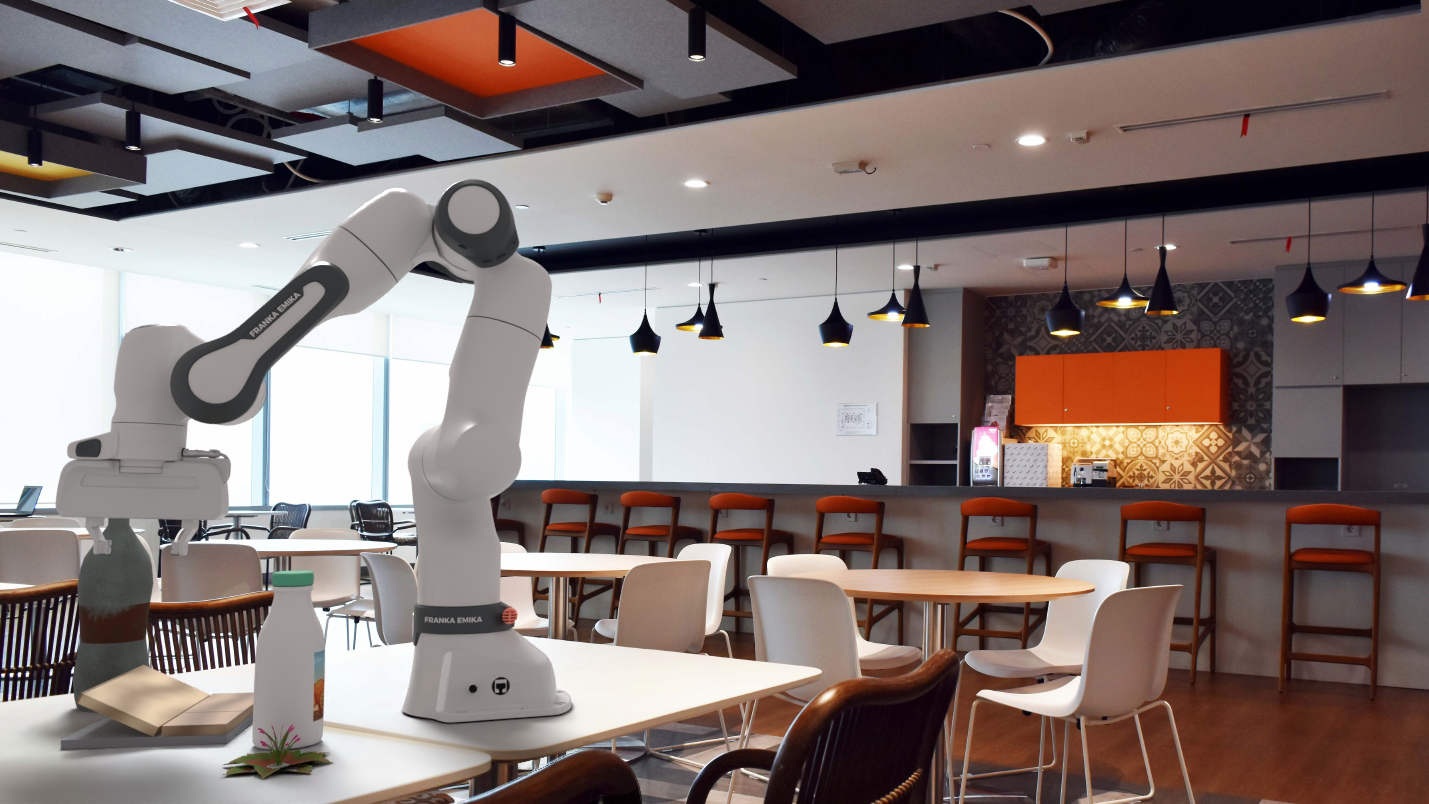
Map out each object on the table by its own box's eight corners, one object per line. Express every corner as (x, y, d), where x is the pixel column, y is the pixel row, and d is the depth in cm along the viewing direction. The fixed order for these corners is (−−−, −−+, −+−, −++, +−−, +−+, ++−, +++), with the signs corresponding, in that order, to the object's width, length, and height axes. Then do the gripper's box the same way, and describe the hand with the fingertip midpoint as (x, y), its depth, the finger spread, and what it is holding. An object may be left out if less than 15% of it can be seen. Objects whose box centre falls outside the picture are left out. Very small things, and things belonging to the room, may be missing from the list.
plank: (205, 702, 143) (210, 694, 143) (153, 736, 124) (158, 727, 124) (139, 672, 142) (143, 664, 142) (75, 702, 123) (80, 692, 123)
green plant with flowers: (346, 754, 122) (348, 713, 122) (322, 782, 110) (324, 737, 110) (236, 757, 120) (238, 715, 121) (199, 786, 108) (202, 740, 109)
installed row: (268, 701, 144) (268, 691, 144) (226, 734, 125) (226, 723, 125) (213, 702, 143) (213, 693, 143) (161, 736, 124) (161, 725, 124)
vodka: (54, 710, 143) (65, 486, 145) (112, 697, 152) (122, 486, 154) (108, 714, 140) (118, 486, 142) (164, 701, 149) (173, 486, 151)
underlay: (270, 708, 144) (270, 700, 145) (227, 743, 125) (227, 734, 125) (127, 712, 142) (128, 704, 142) (60, 749, 122) (60, 740, 122)
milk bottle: (298, 753, 120) (304, 574, 122) (237, 749, 122) (243, 573, 123) (335, 737, 128) (340, 569, 129) (277, 734, 129) (283, 568, 131)
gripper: (239, 450, 143) (232, 554, 142) (77, 446, 140) (69, 552, 139) (223, 448, 137) (216, 557, 135) (53, 444, 134) (45, 554, 133)
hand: (140, 554), depth 137 cm, fingers open, 8 cm apart
